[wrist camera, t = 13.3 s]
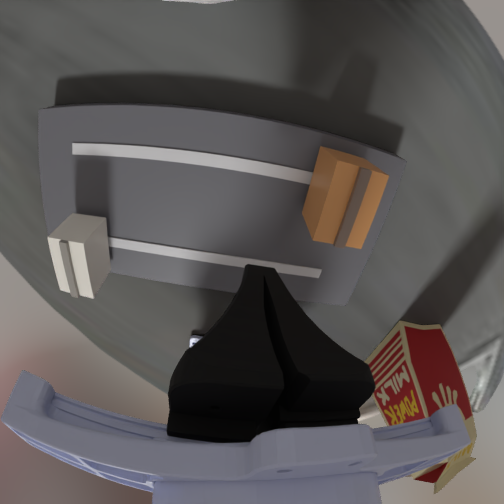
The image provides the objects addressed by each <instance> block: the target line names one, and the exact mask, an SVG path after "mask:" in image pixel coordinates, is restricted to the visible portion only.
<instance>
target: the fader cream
mask: <svg viewBox="0 0 504 504" xmlns="http://www.w3.org/2000/svg"><path fill="white" fill-rule="evenodd" d="M48 242H49V247H50V251H51V256H52V260H53V264H54V268H55V272H56V276H57V280H58V283H59V287H60V290H62V291H65V292H69V293H71V296H72V297H76V298H78V297H79V296H80V295H81V296H85V297H89V298H94V297H95V296H96V294H97V292H98V290H99V289H100V287H101V285H102V284H103V282H104V280H105V278H106V277H107V275H108V273H109V272H110V270H111V264H110V256H109V246H108V236H107V223H106V218H105V217H98V216H90V215H83V214H76V213H72V214H71V215H70V216H69V217H68V218H67V219H66V220H65V221H63V222H62V223H61V224H60V225H59V226H58V227H57V228H56V229H55V230H54V231H53V232H52V233H51V234H50V235H49V236H48Z"/></svg>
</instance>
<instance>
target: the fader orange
mask: <svg viewBox="0 0 504 504" xmlns="http://www.w3.org/2000/svg"><path fill="white" fill-rule="evenodd" d="M388 178H389V175H387V174H386V173H385V172H383V171H382V170H380V169H379V168H378V167H376V166H375V165H373V164H372V163H370V162H369V161H367V160H366V159H364V158H361V157H358V156H355V155H351V154H348V153H344V152H341V151H337V150H334V149H330V148H326V147H322V146H320V149H319V153H318V157H317V161H316V164H315V168H314V172H313V175H312V179H311V182H310V186H309V189H308V193H307V197H306V200H305V203H304V207H303V210H302V215H303V217H304V220H305V222H306V225H307V227H308V230H309V232H310V235H311V237H312V240H313V241H319V242H324V243H330V244H333V245H334V247H338V248H343V249H344V248H345V246H347V247H352V248H358V249H361V248H362V246H363V243H364V241H365V239H366V236H367V234H368V231H369V229H370V226H371V224H372V221H373V219H374V216H375V214H376V211H377V208H378V206H379V203H380V200H381V198H382V195H383V192H384V189H385V187H386V184H387V181H388Z"/></svg>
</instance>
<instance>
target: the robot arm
mask: <svg viewBox="0 0 504 504" xmlns="http://www.w3.org/2000/svg"><path fill="white" fill-rule="evenodd" d="M375 388H376V385H375V382H374V378H373V375H372V372H371V370H370V367H369V365H368V364H367V363H365V362H363V361H362V360H360V359H358V358H357V357H355V356H353V355H352V354H350V353H349V352H347V351H346V350H345V349H343V348H342V347H340V346H339V345H338V344H337V343H335V342H334V341H333V340H332V339H330V338H329V337H328V336H327V335H326V334H325V333H324V332H323V331H321V330H320V329H319V328H318V327H317V326H316V325H315V324H314V322H313V321H312V320H311V319H310V318H309V317H308V316H307V315H306V314H305V312H304V311H303V310H302V309H301V307H300V306H299V305H298V304H297V302H296V301H295V299H294V298H293V296H292V295H291V294H290V292H289V291H288V289H287V287H286V286H285V284H284V283H283V281H282V279H281V278H280V276H279V274H278V273H277V271H276V269H275V268H272V267H265V266H259V265H252V264H247V265H245V268H244V272H243V277H242V281H241V285H240V287H239V289H238V291H237V293H236V295H235V297H234V299H233V300H232V302H231V304H230V305H229V307H228V308H227V310H226V311H225V312H224V314H223V315H222V316H221V318H220V319H219V320H218V321H217V323H216V324H215V325H214V326H213V327H212V328H211V329H210V330H209V331H208V332H207V333H206V334H205V335H204V336H197V335H193V336H191V337H190V348H189V349H188V350H186V351H185V353H184V355H183V356H182V358H181V359H180V361H179V363H178V364H177V366H176V368H175V370H174V372H173V375H172V377H171V380H170V386H169V392H168V397H169V408H170V411H169V417H168V424H167V425H166V424H160V423H155V422H151V421H146V420H142V419H137V418H133V417H129V416H126V415H122V414H118V413H115V412H111V411H108V410H104V409H101V408H98V407H95V406H92V405H89V404H86V403H83V402H80V401H77V400H75V399H72V398H69V397H66V396H64V395H61V394H59V393H56V392H55V391H54V389H53V387H52V385H51V384H49V382H47V381H46V380H44V379H43V378H40V377H38V376H36V375H34V374H31V373H29V372H27V371H25V370H22V372H21V373H20V376H19V378H18V380H17V382H16V384H15V386H14V388H13V390H12V393H11V395H10V397H9V400H8V402H7V405H6V407H5V409H4V412H3V414H2V417H1V421H2V422H3V423H4V424H6V425H7V426H8V427H9V428H10V429H11V430H12V431H13V432H15V433H16V434H17V435H18V436H20V437H21V438H22V439H23V440H25V441H26V442H27V443H28V444H30V445H32V446H34V447H35V448H37V449H39V450H41V451H43V452H45V453H47V454H49V455H51V456H53V457H55V458H57V459H60V460H62V461H64V462H66V463H69V464H71V465H73V466H75V467H78V468H80V469H82V470H85V471H87V472H90V473H93V474H95V475H98V476H100V477H103V478H106V479H109V480H112V481H115V482H118V483H121V484H124V485H127V486H131V487H134V488H138V489H142V490H145V491H150V492H153V498H152V504H382V502H381V496H380V491H379V485H380V484H384V483H387V482H390V481H393V480H395V479H399V478H401V477H404V476H407V475H410V474H413V473H415V472H418V471H420V470H423V469H426V468H428V467H431V466H433V465H435V464H438V463H440V462H441V461H443V460H445V459H447V458H448V457H450V456H451V455H453V454H455V453H456V452H458V451H460V450H461V449H463V448H464V447H466V446H467V445H469V444H470V443H471V440H470V438H469V435H468V432H467V429H466V427H465V424H464V421H463V419H462V416H461V414H460V411H459V409H458V406H457V404H453V405H449V406H446V407H443V408H440V409H439V410H437V411H436V412H434V413H433V414H432V415H431V417H428V418H424V419H420V420H415V421H411V422H407V423H402V424H397V425H392V426H386V427H380V428H374V429H372V428H370V427H369V426H368V425H366V424H358V420H357V419H358V418H359V417H360V411H359V408H360V407H361V406H362V405H363V404H364V403H365V402H366V401H367V400H368V399H369V398H370V397H371V395H372V394H373V393H374V391H375Z"/></svg>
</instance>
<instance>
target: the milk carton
mask: <svg viewBox="0 0 504 504" xmlns="http://www.w3.org/2000/svg"><path fill="white" fill-rule="evenodd" d="M364 362H365V363H367V364H368V365H369V367H370V370H371V372H372V375H373V378H374V382H375V385H376V388H375V391H374V393H373V394H372V397H373V399H374V401H375V403H376V405H377V407H378V409H379V411H380V413H381V415H382V417H383V419H384V421H385V423H386V425H387V426H392V425H397V424H402V423H407V422H411V421H415V420H420V419H424V418H428V417H431V415H432V414H433V413H434V412H436V411H437V410H439V409H440V408H443V407H446V406H449V405H453V404H457V406H458V409H459V411H460V414H461V416H462V419H463V421H464V424H465V427H466V429H467V432H468V435H469V438H470V440H471V443H470V444H469V445H467V446H466V447H464V448H463V449H461V450H460V451H458V452H456V453H455V454H453V455H451V456H450V457H448V458H447V459H445V460H443V461H441V462H440V463H438V464H435V465H433V466H431V467H428V468H426V469H423V470H420V471H418V472H415V473H413V474H411V475H412V477H413V479H415V480H419V481H424V482H430V483H435V485H434V494H436V493H438V491H440V490H441V489H442V488H443V487H444V486H445V485H446V484H447V483H448V482H449V481H450V480H451V479H452V478H453V477H454V476H455V475H456V474H457V473H458V472H460V471H461V470H462V469H464V468H465V467H466V466H468V465H469V464H470V463H471V462H472V461H474V460H475V459H476V458H472V457H470V456H471V453H472V450H473V447H474V444H475V440H476V437H477V434H476V429H475V423H474V418H473V414H472V409H471V405H470V400H469V397H468V393H467V390H466V387H465V384H464V381H463V378H462V375H461V372H460V369H459V367H458V364H457V361H456V359H455V356H454V353H453V351H452V349H451V347H450V344H449V342H448V340H447V338H446V336H445V334H444V332H443V330H442V328H441V326H440V324H435V325H418V324H414V323H409V322H405V321H401V320H399V322H398V323H397V324H396V325H395V326H394V328H393V329H392V330H391V331H390V332H389V334H388V335H387V336H386V337H385V338H384V339H383V341H382V342H381V343H380V344H379V345H378V346H377V348H376V349H375V350H374V351H373V352H372V353H371V355H370V356H369V357H368V358H367V359H366V360H365V361H364Z"/></svg>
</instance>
